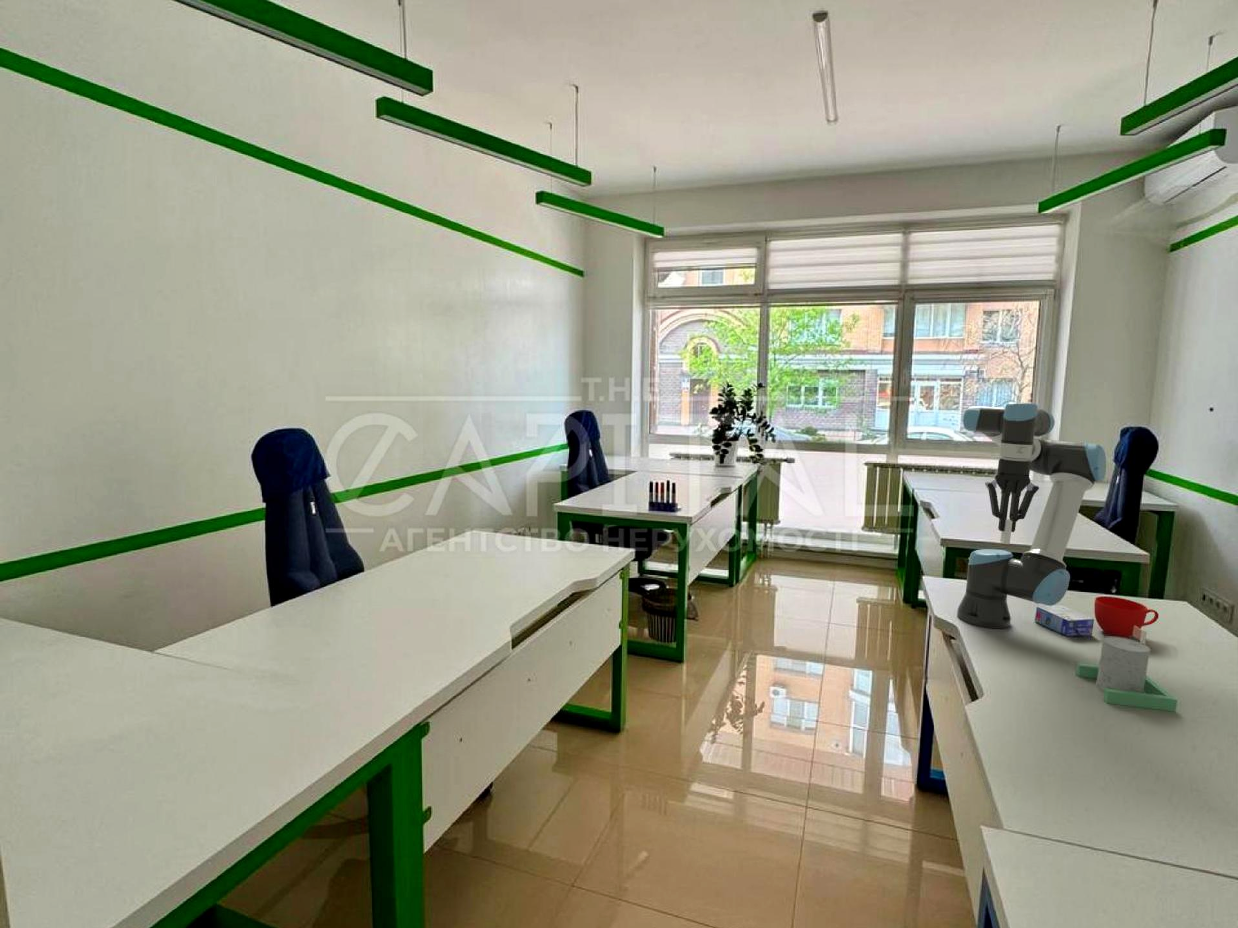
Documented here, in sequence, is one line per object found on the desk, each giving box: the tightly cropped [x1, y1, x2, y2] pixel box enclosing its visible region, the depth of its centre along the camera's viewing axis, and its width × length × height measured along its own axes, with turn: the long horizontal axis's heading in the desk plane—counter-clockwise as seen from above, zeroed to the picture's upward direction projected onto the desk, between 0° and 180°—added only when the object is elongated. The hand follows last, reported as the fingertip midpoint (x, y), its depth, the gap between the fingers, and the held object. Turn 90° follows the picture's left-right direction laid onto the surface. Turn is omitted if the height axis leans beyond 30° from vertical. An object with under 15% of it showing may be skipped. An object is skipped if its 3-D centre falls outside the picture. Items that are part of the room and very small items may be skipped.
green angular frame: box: [1075, 625, 1178, 713], centre depth 163 cm, size 20×14×14 cm
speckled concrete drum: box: [1095, 635, 1151, 693], centre depth 162 cm, size 10×10×12 cm
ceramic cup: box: [1093, 595, 1159, 639], centre depth 200 cm, size 13×17×10 cm
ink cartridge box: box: [1034, 605, 1095, 637], centre depth 202 cm, size 10×6×14 cm
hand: (1004, 542), depth 179 cm, fingers closed
